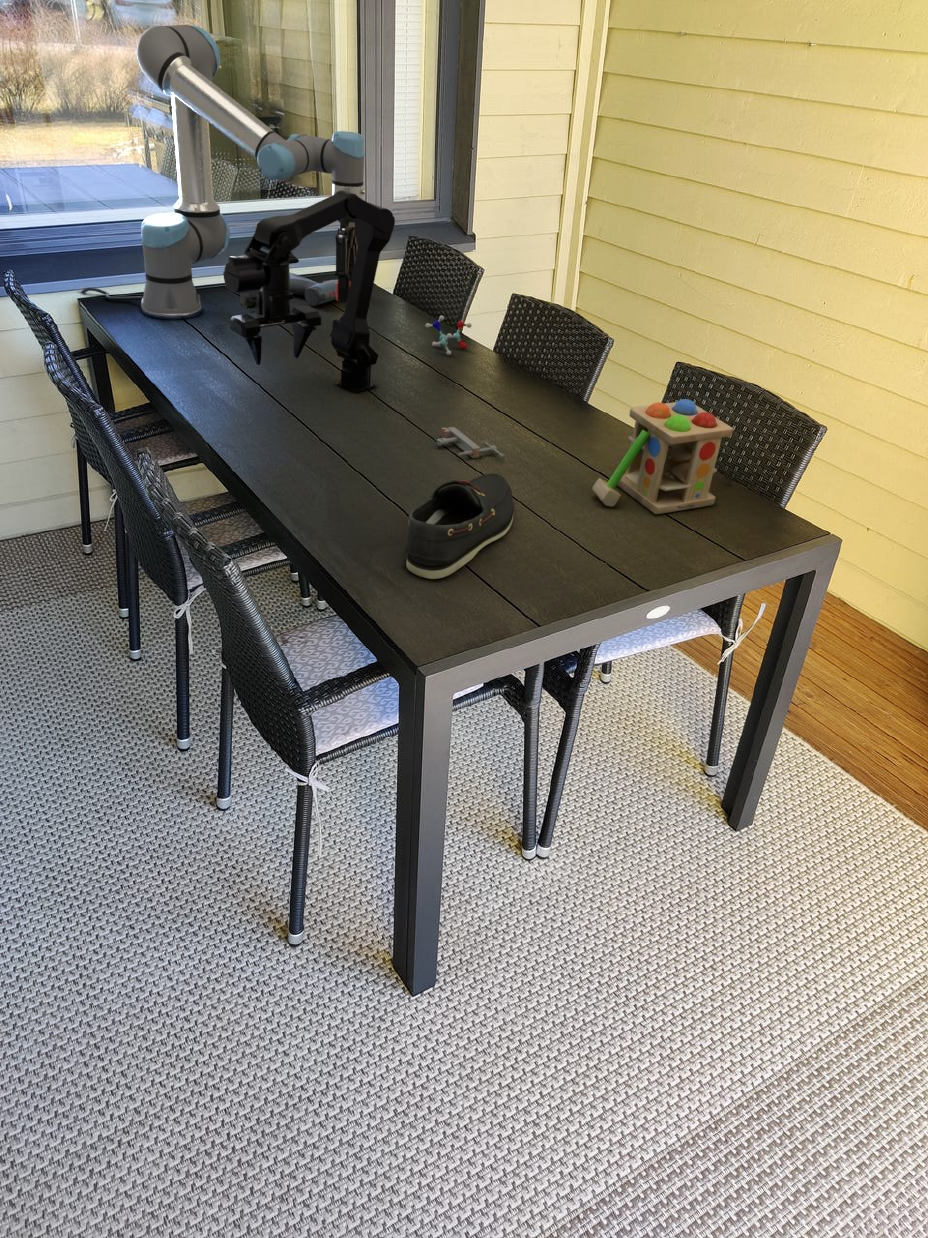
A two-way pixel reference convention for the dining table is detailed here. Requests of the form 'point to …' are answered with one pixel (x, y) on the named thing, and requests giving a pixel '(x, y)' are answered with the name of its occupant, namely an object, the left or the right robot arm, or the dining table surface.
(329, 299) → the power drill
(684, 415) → the pounding bench toy
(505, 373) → the dining table surface
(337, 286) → the canister
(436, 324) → the molecular model
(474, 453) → the clamp
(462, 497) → the boat shoe
